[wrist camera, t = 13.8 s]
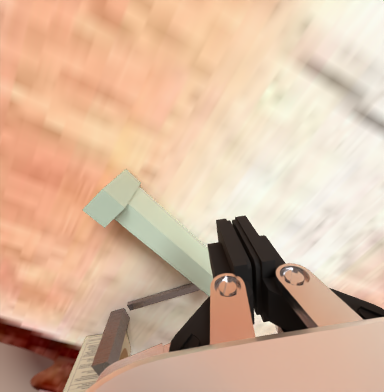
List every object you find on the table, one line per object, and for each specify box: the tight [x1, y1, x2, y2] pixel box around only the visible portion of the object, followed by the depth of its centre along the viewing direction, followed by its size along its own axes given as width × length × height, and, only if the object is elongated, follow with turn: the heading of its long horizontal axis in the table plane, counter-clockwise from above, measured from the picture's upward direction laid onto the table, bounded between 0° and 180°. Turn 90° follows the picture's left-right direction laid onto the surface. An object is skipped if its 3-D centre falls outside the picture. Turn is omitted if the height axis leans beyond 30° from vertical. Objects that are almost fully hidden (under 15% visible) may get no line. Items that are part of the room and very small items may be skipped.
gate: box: [83, 169, 213, 296], centre depth 21 cm, size 16×2×7 cm, turn 43°
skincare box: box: [63, 333, 131, 392], centre depth 26 cm, size 6×4×12 cm
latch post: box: [91, 283, 201, 376], centre depth 26 cm, size 3×14×7 cm, turn 108°
